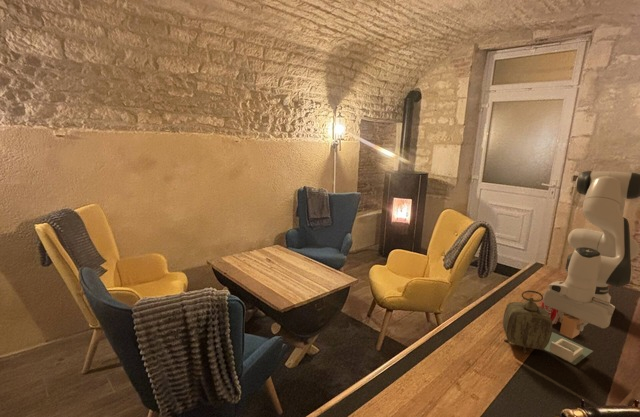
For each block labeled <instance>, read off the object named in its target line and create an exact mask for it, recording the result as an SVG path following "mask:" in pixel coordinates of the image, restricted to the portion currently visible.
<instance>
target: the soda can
mask: <svg viewBox="0 0 640 417" xmlns="http://www.w3.org/2000/svg"><path fill="white" fill-rule="evenodd" d="M540 302H541V303H540V306H541V307H543V308H545V310H546V311H547V313H548V314H549V316H550V318H551V320H552V325H556V324H557V323H558V320H559V318H560V316H559V314H558V310H556V309H554V308H551V307H549V306H546V305H544V303H543V299H542V300H541V301H540Z"/></svg>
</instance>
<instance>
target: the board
mask: <svg viewBox="0 0 640 417" xmlns="http://www.w3.org/2000/svg"><path fill="white" fill-rule="evenodd" d="M560 339H564V340H566V341H568V342H571V343H573V344H575V345H577V346H579V347H581V348H583V352H582V355H580V356H579V357H578V358H576V359H575V360H574V361H572V362H569V361H567V360H565V359H563V358H561V357H559V356H557V355H555V354H553V353H551V352H550V351H549V350H550V345H551V342H554V343H555V342H557V341H558V340H560ZM563 347H564V346H563ZM565 348H566V347H565ZM567 349H568V348H567ZM543 350H544V351H546V352H548V353H550V354H552V355H554V356H556V357H558V358H560V359H561V360H564V361H565V362H567V363H570V364H571V365H574V366H577V364H579V363H580V362H581V361H583V360H584V359H585V358H586V357H587V356H589V355H591V353H593V352H594V350H592V349H590V348H588V347H585V346H583V345H582V344H579V343H577V342H575V341H573V340H572V339H571V340H570V338H569V339H568V338H567V337H565V336H562V335H560V334H558V333H555V332H553V331H552V334H551V337H550V341H549V343H548V345H547V346H546V347H545V349H543ZM569 350H570V349H569ZM571 351H572V350H571ZM573 352H574V351H573Z"/></svg>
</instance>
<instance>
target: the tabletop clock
mask: <svg viewBox="0 0 640 417" xmlns="http://www.w3.org/2000/svg"><path fill="white" fill-rule="evenodd" d="M526 293H533V294H537V295H539V296H540V297H541V298H540V299H534V298H533V297H530V298H527V297H525V296H524V294H526ZM521 297H522V298H523V299H524V300H526V301H524V302H518V301H511V302H508V304H506V307H505V308H504V309H505V310H504V313H503V317H502V318H503V320H502V327H503V330H504V334H505V336H506V338H505V339H504V340H503V341H504V342H505V343H511V344H514V345H517V346H520V347H523V349H522V350H521V352H522V353H524V354H525V353H527V350H526V348H529V349H535V350H544V349H545V347H546V346H547V345H548V343H549V341H550V337H551V334H552V332H553V324H552V320H551V318H550V316H549V314H548V313H547V311H546V310H545V308H543V307H541V305H538V304H537V303H538V302H542V299H543V297H544V295H543V294H542V293H540V292H538V291H537V290H525V291H523V292H522V293H521Z"/></svg>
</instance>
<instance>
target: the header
mask: <svg viewBox="0 0 640 417" xmlns="http://www.w3.org/2000/svg"><path fill="white" fill-rule="evenodd" d="M563 346H564V347H563ZM565 347H566V348H565ZM567 348H568V349H567ZM569 349H570V350H569ZM571 350H572V351H571ZM549 351H550V352H551V353H550V352H549V353H550V354H552V353H553V354H552V355H554V354H555V355H554V356H556V355H557V356H556V357H558V356H559V357H558V358H560V357H561V358H560V359H562V358H563V359H562V360H564V359H565V360H564V361H566V360H567V361H566V362H568V361H569V362H568V363H570V362H572V361H574V360H575V359H576V358H578V357H579V356H580V355H582V352H583V348H581V347H579V346H577V345H575V344H573V343H571V342H568V341H566V340H564V339H560V340H558V341H557V342H555V343H554V342H551V345H550V350H549ZM573 351H574V352H573Z"/></svg>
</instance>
